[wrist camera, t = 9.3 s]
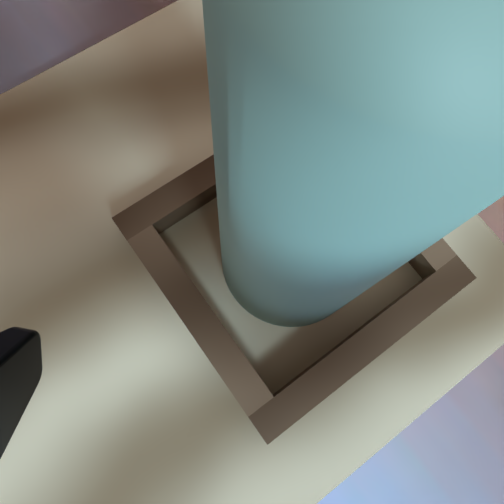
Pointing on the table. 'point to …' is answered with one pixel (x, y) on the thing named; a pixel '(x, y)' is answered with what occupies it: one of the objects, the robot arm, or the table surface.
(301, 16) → the post
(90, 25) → the table surface
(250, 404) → the base board
